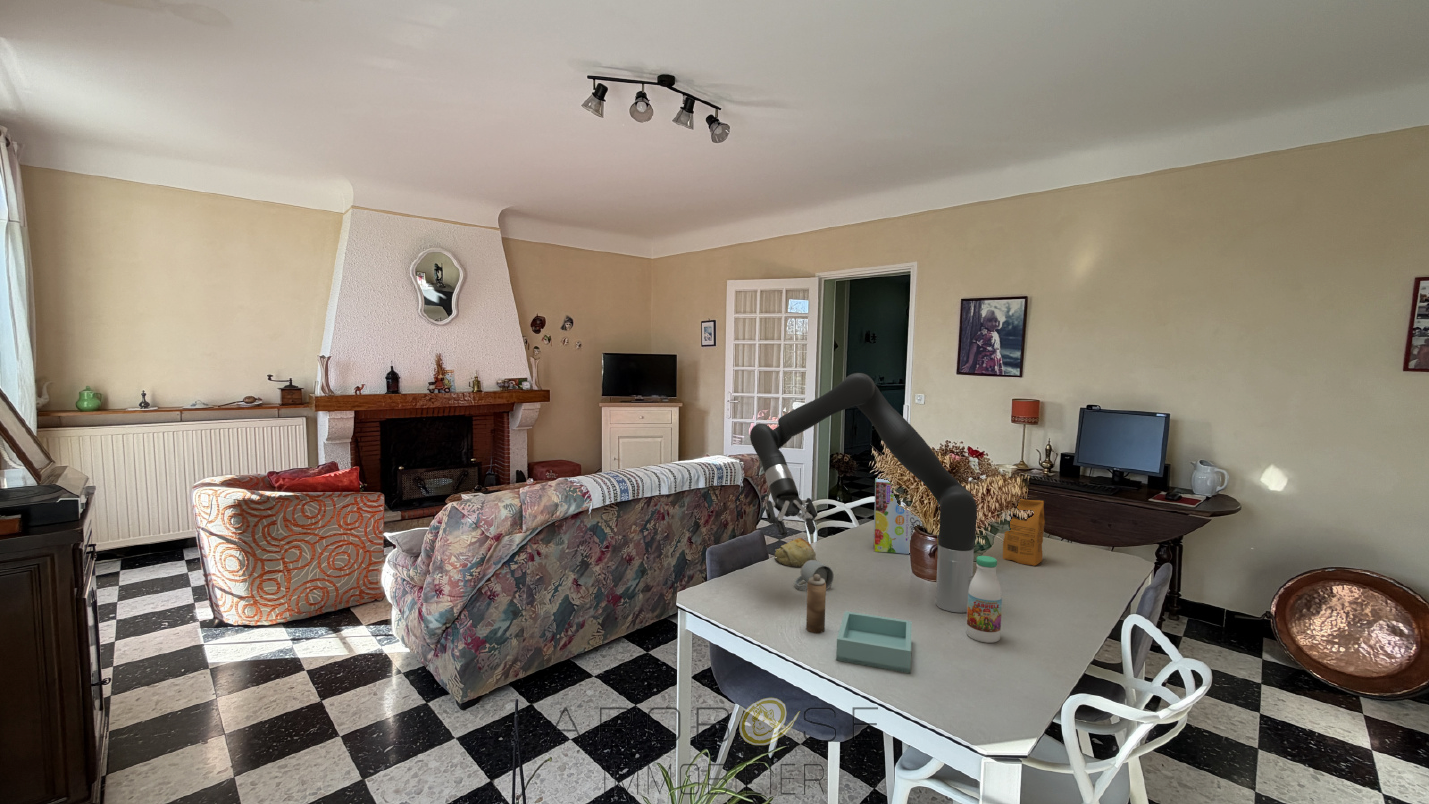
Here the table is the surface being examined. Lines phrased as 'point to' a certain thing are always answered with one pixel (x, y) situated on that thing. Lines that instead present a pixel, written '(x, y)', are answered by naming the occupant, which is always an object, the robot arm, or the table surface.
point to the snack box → (891, 521)
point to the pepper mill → (816, 604)
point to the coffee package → (1025, 535)
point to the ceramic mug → (814, 568)
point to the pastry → (795, 553)
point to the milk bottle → (984, 602)
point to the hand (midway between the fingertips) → (799, 534)
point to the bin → (875, 641)
